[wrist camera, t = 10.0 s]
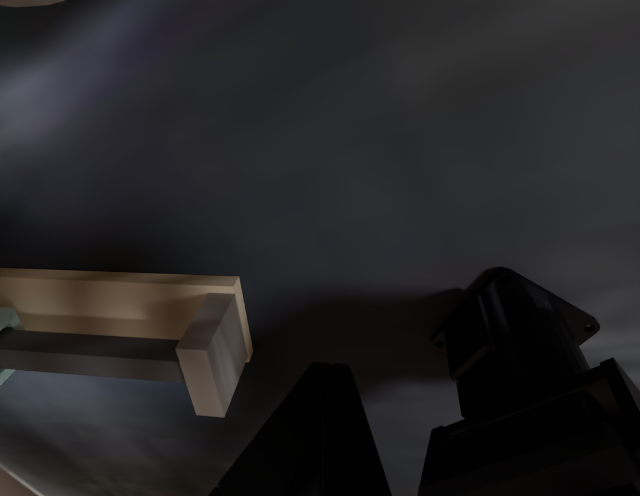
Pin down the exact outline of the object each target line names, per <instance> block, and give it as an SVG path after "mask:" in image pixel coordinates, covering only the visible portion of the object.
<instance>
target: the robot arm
mask: <svg viewBox="0 0 640 496" xmlns="http://www.w3.org/2000/svg"><path fill="white" fill-rule="evenodd" d="M506 276H507V277H509V278H508V279H506V280H501V279H502V278H503V277H506ZM587 325H591V326H589V327H586V326H587ZM599 330H600V325H599V323H598V321H597V320H596V319H595V318H594V317H592V316H591V315H589V314H587V313H586V312H584V311H582V310H580V309H579V308H577V307H575V306H573V305H572V304H570V303H568V302H567V301H565V300H563V299H561V298H560V297H558V296H556V295H554V294H553V293H551V292H549V291H547V290H546V289H544V288H542V287H541V286H539V285H537V284H535V283H534V282H532V281H530V280H528V279H527V278H525V277H523V276H522V275H520V274H518V273H516V272H515V271H513V270H511V269H508V268H503V269H500V270H498V271H497V272H496V273H495V274H494V275H493V276H492V277H491V278H490V279H489V280H488V281H487V282H486V283H485V284H484V285H483V286H482V287H481V288H480V289H479V290H477V291H476V292H475V293H474V294H472V295H470V296H469V297H468V298H467V299H466V300H465V301H464V302H463V303H462V304H461V305H460V306H459V307H458V308H457V309H456V310H455V311H454V312H453V313H452V314H451V315H450V316H449V317H448V318H447V319H446V320H445V321H444V322H443V325H442V326H441V327H440V328H439V329H438V330H437V331H436V332H435V333H434V334H433V335H432V336H431V339H430V341H431V346H432V348H433V349H435V350H437V351H439V352H440V353H442V354H444V355H446V356H448V362H449V369H450V376H451V379H452V380H453V381H455V382H456V384H457V390H458V396H459V403H460V409H461V415H462V416H463V417H464V418H466V419H463V420H461V421H458V422H456V423H453V424H450V425H448V426H445V427H443V426H439V427H437V428H434V429H432V431H431V435H430V440H429V444H428V449H427V454H426V458H425V463H424V467H423V472H422V477H421V481H420V485H419V490H418V496H640V391H639V389H638V388H637V387H636V386H635V384H634V383H633V382H632V380H631V379H630V378H629V377H628V375H627V374H626V373H625V372H624V370H623V369H622V368H621V367H620V365H619V364H618V363H617V361H616V360H615V359H614V358H610V359H608V360H605V361H603V362H600V366H597V367H595V368H592V369H590V367H589V365H588V363H587V361H586V359H585V357H584V355H583V353H582V351H581V349H580V347H579V346H580V345H581V344H582V343H584V342H585V341H586V340H588V339H589V338H590V337H592V336H593V335H594V334H596V333H597V332H598V331H599ZM437 341H442V342H440V343H438V342H437ZM217 486H218V487H214V488H213V490H212V491H211V492H210V494H209V495H208V496H392V495H391V492H390V488H389V485H388V482H387V479H386V476H385V473H384V470H383V467H382V464H381V461H380V457H379V454H378V451H377V448H376V445H375V442H374V439H373V436H372V433H371V429H370V426H369V423H368V420H367V417H366V414H365V411H364V408H363V405H362V402H361V398H360V395H359V392H358V389H357V386H356V383H355V380H354V377H353V374H352V371H351V368H350V366H349V365H348V364H338V363H333V364H332V365H330V364H329V363H322V362H313V363H312V364H311V365H310V366H309V367H308V368H307V370H306V371H305V372H304V373H303V375H302V376H301V377H300V379H299V380H298V381H297V382H296V384H295V385H294V386H293V388H292V389H291V390H290V391H289V393H288V394H287V395H286V397H285V398H284V399H283V400H282V402H281V403H280V404H279V405H278V407H277V408H276V409H275V411H274V412H273V413H272V414H271V416H270V417H269V418H268V420H267V421H266V422H265V423H264V425H263V426H262V427H261V429H260V430H259V431H258V432H257V434H256V435H255V436H254V438H253V439H252V440H251V441H250V443H249V444H248V445H247V446H246V448H245V449H244V450H243V452H242V453H241V454H240V455H239V457H238V458H237V459H236V461H235V462H234V463H233V464H232V466H231V467H230V468H229V470H228V471H227V472H226V473H225V475H224V476H223V477H222V479H221V480H220V481H219V482H218V484H217Z"/></svg>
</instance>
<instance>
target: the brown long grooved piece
mask: <svg viewBox="0 0 640 496" xmlns="http://www.w3.org/2000/svg"><path fill="white" fill-rule="evenodd" d="M0 307H2V308H13V309H14V310H15V312H16V314H17V316H18V318H19V319H20V321H21V323H22V325H23V327H24V329H25V330H10V329H2V330H1V331H0V369H12V370H25V371H38V372H51V373H64V374H77V375H90V376H103V377H115V378H128V379H141V380H154V381H167V382H180V383H186V384H187V387H188V390H189V393H190V396H191V399H192V402H193V406H194V409H195V412H196V415H202V416H214V417H225V414H226V412H227V409H228V406H229V404H230V401H231V399H232V396H233V394H234V391H235V388H236V386H237V383H238V381H239V378H240V376H241V373H242V370H243V368H244V365H245V363H246V362H249V361H250V358H251V356H252V353H253V347H252V342H251V337H250V332H249V326H248V321H247V316H246V311H245V306H244V300H243V295H242V290H241V285H240V280H239V277H238V276H211V275H183V274H156V273H128V272H101V271H73V270H45V269H18V268H0Z"/></svg>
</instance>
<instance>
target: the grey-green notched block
mask: <svg viewBox="0 0 640 496" xmlns="http://www.w3.org/2000/svg"><path fill="white" fill-rule="evenodd" d="M2 329H10V330H25V329H24V327H23V325H22V323H21V321H20V319H19V318H18V316H17V314H16V312H15V310H14V309H13V308H2V307H0V331H1V330H2ZM14 371H15V370H12V369H0V385H1V384H2V383H3V382H4V381H5V380H6V379H7V378H8V377H9V376H10V375H11V374H12V373H13V372H14Z"/></svg>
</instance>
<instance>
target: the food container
mask: <svg viewBox="0 0 640 496" xmlns="http://www.w3.org/2000/svg"><path fill="white" fill-rule="evenodd" d="M61 1H65V0H0V5H2V6H9V7H29V6H45V5H51V4H54V3H58V2H61Z"/></svg>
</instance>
